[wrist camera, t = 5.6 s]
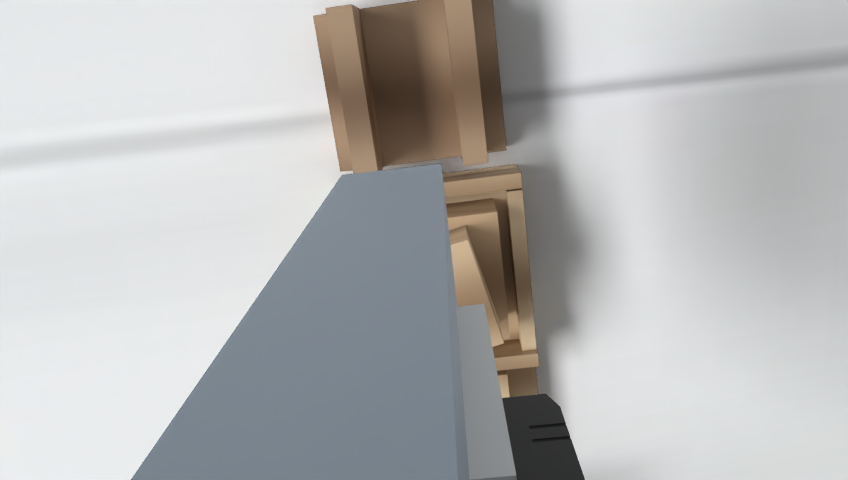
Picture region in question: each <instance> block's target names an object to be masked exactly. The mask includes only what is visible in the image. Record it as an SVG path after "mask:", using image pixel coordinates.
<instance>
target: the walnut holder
mask: <svg viewBox="0 0 848 480" xmlns="http://www.w3.org/2000/svg"><path fill="white" fill-rule="evenodd" d="M313 18H314V24H315V30H316V36H317V41H318V47H319V53H320V58H321V64H322V70H323V75H324V81H325V87H326V92H327V98H328V104H329V109H330V115H331V121H332V126H333V132H334V138H335V143H336V149H337V155H338V161H339V166H340V172H341V171H349V170H353V173H354V174H355V173H364V172H373V171H381V170H382V169H383V167H384V166H388V165H396V164H404V163H411V162H419V161H427V160H435V159H443V158H450V157H458V156H462V161H463V166H468V165H476V164H484V163H488V157H487V153H489V152H497V151H505V150H506V140H505V129H504V119H503V108H502V97H501V87H500V76H499V65H498V55H497V44H496V34H495V23H494V12H493V2H492V0H418V1H411V2H404V3H398V4H391V5H384V6H377V7H370V8H363V9H359V8H357V7H355V6H353V5H352V4H351V5H344V6H337V7H330V8H326V14H322V15H315V16H313Z"/></svg>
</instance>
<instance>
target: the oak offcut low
mask: <svg viewBox="0 0 848 480" xmlns="http://www.w3.org/2000/svg"><path fill="white" fill-rule="evenodd" d="M446 209H447V218H448V227H449V230H452V229H455V228H458V227H461V226H464V225H466V228H467V231H468V234H469V236H470V239H471V242H472V245H473V248H474V251H475V254H476V256H477V259H478V262H479V265H480V268H481V271H482V274H483V277H484V279H485V282H486V285H487V288H488V291H489V294H490V297H491V299H492V302H493V305H494V308H495V311H496V314H497V317H498V320H499V323H500V327H501V332H502V337H503V339H510V332H509V322H508V312H507V303H506V293H505V283H504V273H503V263H502V253H501V243H500V234H499V224H498V214H497V210H496V207H495V204H494V201H493V198H489V199H481V200H473V201H465V202H457V203H449V204H446Z"/></svg>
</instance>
